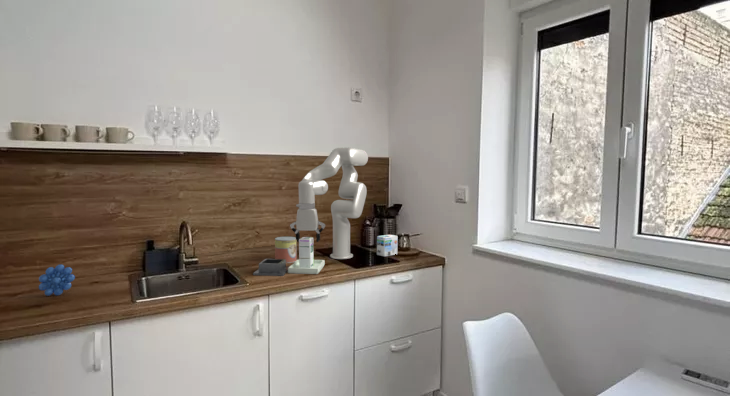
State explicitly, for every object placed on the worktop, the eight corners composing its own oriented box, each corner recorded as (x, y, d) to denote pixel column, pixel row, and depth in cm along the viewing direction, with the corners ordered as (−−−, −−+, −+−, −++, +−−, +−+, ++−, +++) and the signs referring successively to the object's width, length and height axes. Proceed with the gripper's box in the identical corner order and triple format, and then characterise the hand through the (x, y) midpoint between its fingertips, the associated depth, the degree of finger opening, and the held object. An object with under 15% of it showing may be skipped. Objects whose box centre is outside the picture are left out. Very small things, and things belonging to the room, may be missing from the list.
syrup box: (310, 268, 197) (310, 239, 196) (298, 268, 198) (298, 238, 197) (314, 266, 203) (313, 237, 202) (302, 265, 204) (302, 236, 203)
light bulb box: (384, 256, 228) (384, 237, 227) (376, 254, 233) (376, 236, 233) (398, 254, 235) (398, 235, 234) (389, 252, 240) (389, 234, 240)
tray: (297, 264, 210) (297, 259, 210) (324, 264, 209) (324, 259, 209) (288, 273, 192) (288, 268, 192) (317, 274, 191) (317, 268, 191)
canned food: (286, 264, 210) (286, 241, 209) (270, 261, 216) (270, 238, 215) (301, 260, 220) (300, 237, 219) (285, 257, 226) (285, 235, 225)
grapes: (78, 290, 164) (77, 260, 163) (74, 295, 158) (72, 264, 157) (42, 293, 160) (41, 263, 159) (36, 299, 154) (35, 267, 153)
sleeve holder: (263, 267, 202) (263, 257, 202) (291, 268, 201) (290, 258, 201) (253, 275, 189) (252, 264, 188) (283, 276, 187) (282, 265, 187)
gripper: (287, 207, 195) (288, 243, 197) (323, 207, 194) (324, 243, 196) (291, 205, 203) (292, 239, 205) (326, 205, 201) (327, 239, 203)
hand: (308, 241), depth 200 cm, fingers open, 9 cm apart
